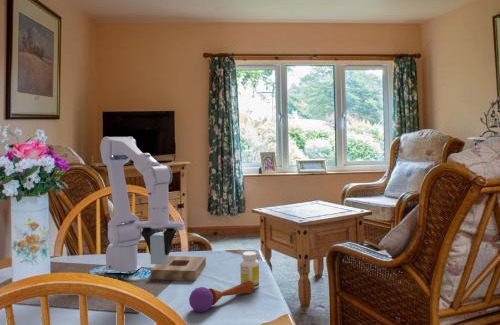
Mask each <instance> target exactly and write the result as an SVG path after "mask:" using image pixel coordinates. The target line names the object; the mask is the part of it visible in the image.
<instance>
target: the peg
mask: <svg viewBox="0 0 500 325" xmlns="http://www.w3.org/2000/svg"><path fill="white" fill-rule="evenodd" d="M150 252H151V255H150V265H156V264H165V263H166V262H167V261H168V260H169V256H170V255H169V254H170V253H169V254H168V255H165V240H164V234H163V232H155V233H154V234H153V235H152V236H150Z"/></svg>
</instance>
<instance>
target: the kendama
mask: <svg viewBox="0 0 500 325" xmlns="http://www.w3.org/2000/svg"><path fill="white" fill-rule="evenodd" d="M254 291H255V289H254V284H253V282H252V281H247V282H245V283H242V284H241V283H240V284H237V285H235V286H233V287H231V288H228V289H225V290H223V291H221V290H217V289H214V288H211V287H210V288H207V287H205V286H199V287H196V288H194V289H193V290H192V291H191V293H190V295H189V298H188V302H189V306H190V307H191V309H192V310H194V311H195V312H198V313H205V312H207V311H208V310H209V309H210V308H212V306H215V305H216V303H218V302H219V300H221V299H222V297H228V296H236V295H244V294H252V293H253V292H254Z"/></svg>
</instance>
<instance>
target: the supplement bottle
mask: <svg viewBox="0 0 500 325" xmlns="http://www.w3.org/2000/svg"><path fill="white" fill-rule="evenodd" d="M239 265H240V269H239V270H240V284H242V283H245V282H247V281H252V282H253V284H254V290H256V289H257V288H259V286H260V263H259V261H258V260H257V253H256V252H255V251H252V250H251V251H249V250H248V251H244V252H243V253H242V260H241V261H240V264H239Z"/></svg>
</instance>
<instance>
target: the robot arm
mask: <svg viewBox="0 0 500 325" xmlns="http://www.w3.org/2000/svg"><path fill="white" fill-rule="evenodd" d="M99 150H100V157H101V160H102V161H101V162H102V164H103V165H106V168H107V169H106V170H107V174H108V181H109V187H110V192H111V193H110V194H111V200H112V205H113V211H114V212H113V213H114V216H112V217H111V219H110V220H109V221H108V222H107V239H108V241H109V244H108V245H107V247H106V250H105V265H106V267H105V269H106V270H115V271H120V272H128V271H133V270H138V269H139V270H140V269H142V267H143V265H142V264H139V263H138V257H139V256H138V243H140V240H142V237H143V239H144V241H145V243H146V245H147V248H148V252H149V256H151V252H150V236H152V235H153V234H154V233H156V230H164V231H163V232H162V233H163V234H164V240H165V255H168V254H171V253H170V252H171V247H172V244H173V241H174V240H173V239H174V237H175V235H176V234H177V230H178V231H184V230H185V222H184V221H174V220H173V221H172V220H170V208H169V206H170V205H169V204H170V202H169V197H170V196H169V185H170V184H171V183H172V181H173V171H172V169H171V167H170V166H169V165H168V164H160V162H158V161H157V160H156V159H155V158H154V157H153V156H152V155H151V154H150V153H149V152H142V151H141V150H140V148H138V146H137V140H136V139H135V138H134V137H133V136H104V137H103V138H102V139H101V142H100V146H99ZM130 160H131V161H132V162H133V166H134V168H135V169H136V170H137V171H138V172H139V174H141V175H142V178H143V181H144V184H145V190H146V192H147V195H148V196H147V198H148V200H147V201H148V202H147V203H148V204H147V205H148V206H147V207H148V209H147V210H148V220H143V221H142V220H141V221H140V218H139V216H137V215H135V214H134V213H133V212H131V206H130V205H131V204H130V199H129V194H128V188H127V182H126V177H125V171H124V170H125V169H124V165H125V164H127V163H129V161H130ZM110 267H111V268H110ZM139 270H138V271H139Z"/></svg>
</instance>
